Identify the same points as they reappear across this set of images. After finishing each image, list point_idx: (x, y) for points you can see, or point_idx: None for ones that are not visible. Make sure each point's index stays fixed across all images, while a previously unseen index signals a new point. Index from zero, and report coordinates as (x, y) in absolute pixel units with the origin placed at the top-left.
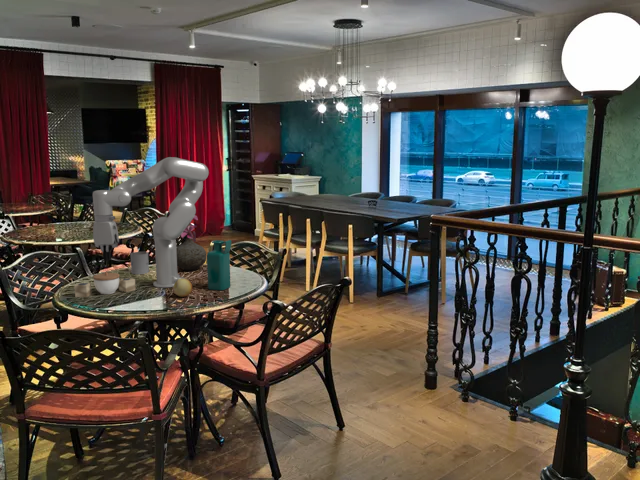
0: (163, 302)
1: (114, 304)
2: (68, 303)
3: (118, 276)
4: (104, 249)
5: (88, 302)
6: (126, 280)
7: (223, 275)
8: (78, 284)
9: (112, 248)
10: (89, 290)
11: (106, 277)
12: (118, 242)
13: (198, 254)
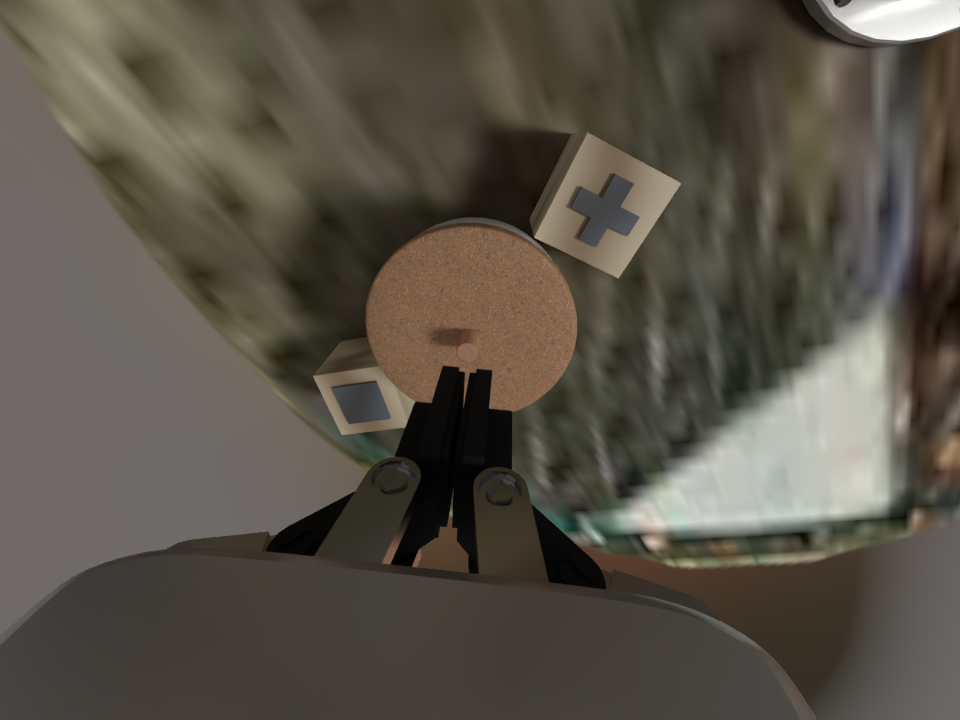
0: (891, 424)
1: (633, 474)
2: None
3: (576, 319)
4: (416, 544)
5: None
6: (615, 246)
7: None
8: (346, 417)
9: (564, 544)
10: None
11: (514, 401)
12: (757, 645)
13: None
